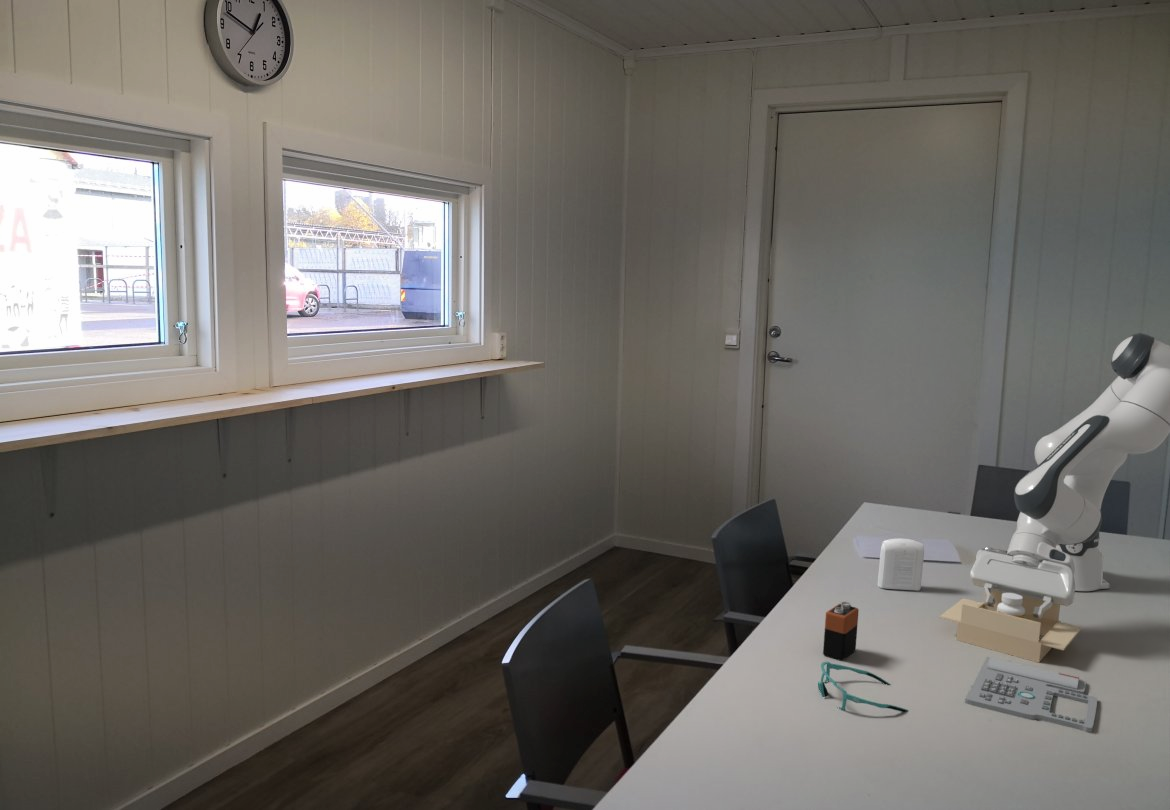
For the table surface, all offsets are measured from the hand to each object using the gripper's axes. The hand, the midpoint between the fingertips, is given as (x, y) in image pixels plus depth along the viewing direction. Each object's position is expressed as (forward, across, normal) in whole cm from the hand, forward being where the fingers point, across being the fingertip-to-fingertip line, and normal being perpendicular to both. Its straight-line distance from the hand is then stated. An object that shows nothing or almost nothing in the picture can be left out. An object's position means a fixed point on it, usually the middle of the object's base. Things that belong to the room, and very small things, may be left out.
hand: (1012, 610), depth 191 cm
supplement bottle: (+5, 0, +5) cm, 7 cm away
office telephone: (+22, +11, -12) cm, 27 cm away
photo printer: (-6, -30, +16) cm, 34 cm away
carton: (+4, 0, +5) cm, 7 cm away
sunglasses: (+38, -13, -28) cm, 49 cm away
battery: (+27, -24, -18) cm, 40 cm away
